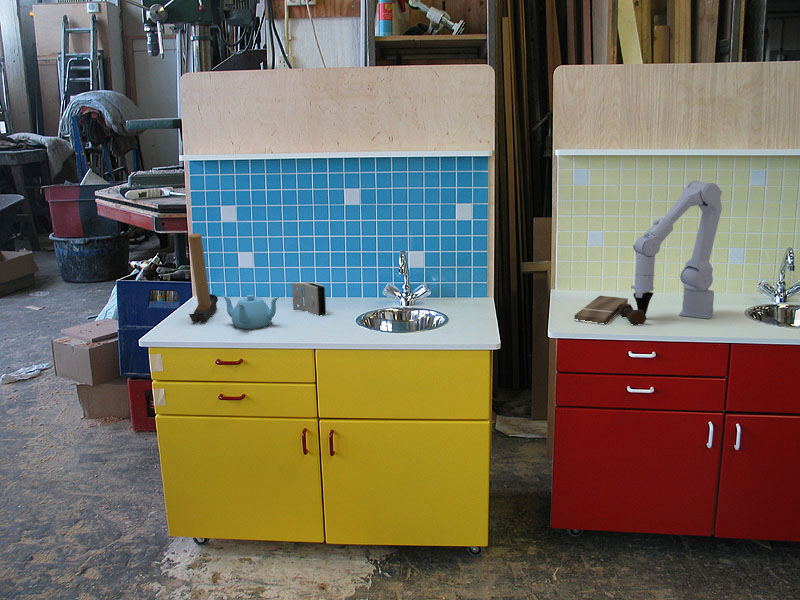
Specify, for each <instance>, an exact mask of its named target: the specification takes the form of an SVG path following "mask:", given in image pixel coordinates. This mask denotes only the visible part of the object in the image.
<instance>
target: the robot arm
mask: <svg viewBox="0 0 800 600" xmlns="http://www.w3.org/2000/svg"><path fill="white" fill-rule="evenodd" d="M722 192H723V191H722V190H721V189H720V187H719V186H718V184H716V183H714V182H704V181H699V180H693V181H690V182H689V183H688V184H687V186H686V187H685V188H683V189H682V193H681V196H679V198H678V200H677V201H676V202H675V203H674V205H673V206H672V208H670V210H668V212H667V214H666V215H665V216H664V217H662V218H661V217H660V218H658V219H655V220H654V221H653V225H651V226H650V228H649V229H648V230H647V231H645V233H644V234H643V236H640V237H638V238H637V239H636V241H635V242H634V244H633V245H632V247H633V250H634V252H635V253H636V254H635V257H636V259H635V274H634V275H635V276H634V278H635V279H634V285H633V284H632V285H631V286H630V289H633V290H634V291H635V292H633V295H632V296H633V298H634V300H635V303H636V307H637V310H643V312H644V313H645V315H646V314H647V312H648V309H649V304H650V303H651V302H650V301H651V300H652V297H653V296H654V292H653V291H654V289H655V288H654V281H655V280H654V279H655V266H656V265H655V264H656V263H655V262H656V255H657V254H658V253H659V252H660V249H661V245H662V243H663V242H664V240H665V239H667V237H668V236H669V235H670V234H671V233H672V231H673V229H674V224H675V223H676V222H678V220H679V219H680V218H681V217H682V216H683V215H684V213H686V212H687V211H688V210H689V209H690V208H691V207H696V206H698V207H699V209H700V210H701V217H700V220H699V221H700V222H699V224H698V225H699V226H698V229H697V233H696V238H695V242H694V247H693V251H692V255H691V258H690V259H688V260H687V261H686V263H685V265H684V268H683V269H682V270H681V273H680V275H679V276H680V277H679V278H680V281H681V283H682V284H683V296H682V297H683V298H682V310H681V311H680V312H679V314H678V315H679V316H680V317H682V316H683V317H690V318H697V319H710V318H711V316H712V315H713V313H714V299H715V291H714V290H711V289H709V288H711V286H712V285H713V281H714V278H713V270H714V268H713V266H712V265H711V263H710V259H711V255H712V252H713V251H712V250H713V246H714V243H715V238H716V234H717V231H718V227H719V223H720V222H719V221H720V219H721V218H720V217H721V214H722V208H723V207H722V206H723V205H722V201H721V197H722Z"/></svg>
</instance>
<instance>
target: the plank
mask: <svg viewBox="0 0 800 600" xmlns="http://www.w3.org/2000/svg"><path fill="white" fill-rule="evenodd" d="M628 301H629V298H626V297H618V296H607V295H599V296H597V297H596V298H595V299H593V300H592V301H591V302H590V303H588V304H587V305H586V306H584V307H583V308H581V310H580V311H578V312H577V313H576V314H574V319H578V320H585V321H592V322H598V323H604V324H605V323H606V322H607V321H608V322H609V321H611V320H612V319H613V318H614V317H615V316H616V315H617V314H619V312H618V310H617V307H618V306H619V305H620V304H629V303H628ZM616 313H617V314H616ZM615 314H616V315H615ZM614 315H615V316H614ZM613 316H614V317H613ZM612 317H613V318H612ZM611 318H612V319H611ZM610 319H611V320H610ZM608 322H607V323H608ZM607 323H606V324H607ZM606 324H605V325H606Z"/></svg>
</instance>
